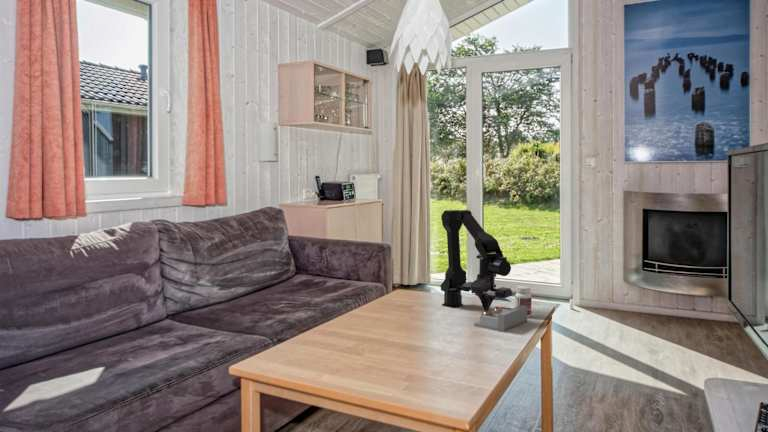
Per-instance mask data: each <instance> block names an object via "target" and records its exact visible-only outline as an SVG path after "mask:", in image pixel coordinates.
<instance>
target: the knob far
mask: <svg viewBox="0 0 768 432" xmlns="http://www.w3.org/2000/svg"><path fill="white" fill-rule="evenodd" d="M507 310H509V309H503V306H497V305H496V306H494V307H493V310H492V311H497V312H505V311H507Z"/></svg>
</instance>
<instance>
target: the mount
mask: <svg viewBox="0 0 768 432" xmlns="http://www.w3.org/2000/svg"><path fill="white" fill-rule="evenodd" d="M502 308H503V309H509V310H507V311H505V312H497V311H493V310H492V311H491V312H492V313H498V318H495V317H490V316H485V315H482V314H480V316H479V321H476V322H474V323H473V325H474V327H479V328H482V329H488V330H491V331H498V332H501V333H505V332H508V331H510V330H512V329H514V328H517V327H519V326H521V325H522V326H523V324H527V323H528V317H527V306H523V305H521V306H518V307H515V306H514V307H506V306H502Z"/></svg>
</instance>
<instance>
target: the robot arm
mask: <svg viewBox="0 0 768 432" xmlns="http://www.w3.org/2000/svg"><path fill="white" fill-rule="evenodd" d="M441 223H442V224H441V225H442V227H443V228H444V230H445V231H446V241H447V256H448V257H447V259H448V261H447V263H448V267H447V270H446V272H445V273H444V280H443V281H442V282H441V284H440V291H441V292H444V295H443V296H444V298H443V299H444V300H443V302H444V303H442V304H441V306H445V307H450V308H458V307H461V306H463V305H464V303H462V302H463V299H462V298H463V295H462V292H467V293H468V292H470V291H471V293H472V294H474V295H475V296H477V297H478V298H479V301H480V303H481V305H482V308H483V311H484V310H487V311H490V307H491V306H492V303H493V301H494V300H495V298H501V299H507V298H509V297H512V296H513V291H512V289H511V287H510V288H509V287H504V286H502V287H498V288H496V287H497V284H495V278H496V277H497V275H498V276H501V277H507V276H508V275H510V273H511V271H512V270H511V269H512V266H511V263H510V261H508V258H507V257H505V256H504V254H503V251H502V249H501V248H500V245H499V243H498V242H499V241H498V240H497V239H496V238H495V237H494V236H493V235H491V234H489V233H488V232H486V231H485V230H484V229H483V228H482V226H481V225H480V223H479V222H478V221H477V220H476V218H475V217H474V216H473V214H472V211H471V210H469V209H460V210H459V209H453V210H452V209H450V210H448V209H446V210H444V211H443V213H441ZM463 226H464V227H465V228H466V229H465V230H467V232H469V234H470V235H471V236H472V238H473V240H474V247H475V248H476V251H477V252H478V254H477V255H476V259H478V260H479V267H478V268H479V271H478V272H479V273H478V274H477V275H476V279H475V280H473V281H468V279H467V271H466V270H464V269H463V268H462V266H461V264H462V263H461V262H462V261H461V246H460V230H461V229H462V227H463ZM467 281H468V282H467Z"/></svg>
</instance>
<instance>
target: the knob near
mask: <svg viewBox="0 0 768 432" xmlns="http://www.w3.org/2000/svg"><path fill="white" fill-rule="evenodd" d="M481 315H485V316H490V317H495V318H498V313H492V311H491V310H488V311H487V310H484V309H483V311H482V313H481Z"/></svg>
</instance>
